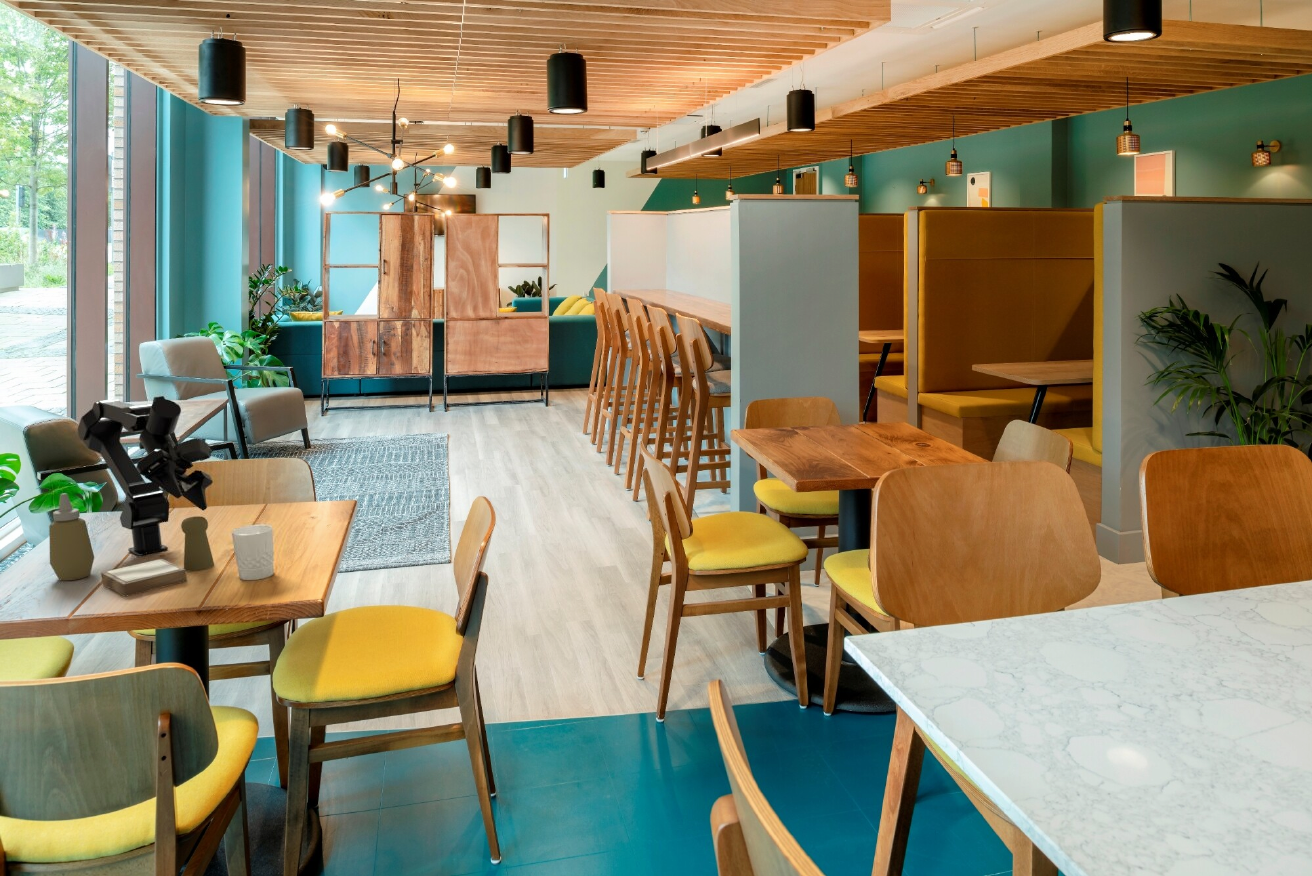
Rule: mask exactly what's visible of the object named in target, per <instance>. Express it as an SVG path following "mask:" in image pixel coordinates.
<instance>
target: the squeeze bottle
mask: <svg viewBox="0 0 1312 876" xmlns="http://www.w3.org/2000/svg"><path fill="white" fill-rule="evenodd" d="M58 503H59V504H58V510H55V511H53V512H52V516H53V522H51V523H50V524H49V525H48V527H49V530H48V532H49V533H48V535H49V538H48V539H49V565H50V566H51V568H52V570H53V571H54V574H55V576H57V579H58V580H59V581H74V580H79V579H84V578H86V577H88V576H90V575H91V573H92V568H93V564H94V559H95V555H94V551H93V546H92V543H91V542H92V541H91V538H90V535H89V531H88V526H87V522H86V520H85V519H83V518H81V515H80V510H79V509H78V508H73V505H72V503H71V501H70V498H69V495H68V493H61V494H60V495H59V502H58Z"/></svg>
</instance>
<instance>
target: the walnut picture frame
mask: <svg viewBox="0 0 1312 876" xmlns="http://www.w3.org/2000/svg"><path fill="white" fill-rule="evenodd" d="M100 575H101V583H102V584H101V585H104V586H105V587H107V588H108V589H111V590H113V591H114V592H115V593H118V594H120V595H122V596H123V595H124V597H128V596H127V595H129V596H132V594H133V595H136V594H140V592H141V593H144V592H149V591H153V590H156V589H160V588H164V587H168V586H172V585H176V584H181V583H184V582H187V581H188V580H187V571H186V569H184V567H181V566H179V565H177V564H175V563H172V562H170V561H168V560H167V559H166V560H165V559H163V558H158V559H154V560H149V561H144V562H140V563H135V564H132V565H127V566H123V567H120V568H119V567H118V568H115V569H111V570H106V571H101V572H100ZM180 582H181V583H180Z"/></svg>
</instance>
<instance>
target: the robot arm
mask: <svg viewBox="0 0 1312 876" xmlns="http://www.w3.org/2000/svg"><path fill="white" fill-rule="evenodd" d="M181 413H182V408H181V406H180V405H179V404H178V403H177V402H175V401H173V400H171V399H166V398H165V396H164V395H160V396H154V397H153V400H152V403H150V404H141V405H135V404H130V403H127V402H123V401H120V399H115V398H113V399H105V400H98V401H96V402H94V403H93V405H92V408H91V409H89V411H87V412H86V413H84V414H83V415H82V416H81V418H80V421H79V423H78V427H77V434H78V435H77V436H78V438H79V440H80V441H82V443H83V444H84V445H85V446H86V447H87V449H89V450H91V451H93V452H96V453H98V454H100V455H101V457H102V459H103V460H104V462H105V464H106V465H107V467H108V469H109V470H110V472H111V474H112V475H113V477H114V478H115V480H116V482H117V484H118V485H119V487H120V488H121V490H122V491H123V493H124V494H125V500H124V503H123V509H122V511H121V514H120V517H119V521H120V523H121V527H122V528H125V529H128V530H131V534H132V537H131V538H132V544H133V547H129V548H128V549H127V550H128V551H129V553H133V554H135V555H137V556H142V555H146V554H152V553H155V552H160V551H166V550H168V549H169V547H168V546H167V545H164V544H163V543H162V535H161V528H160V524H163V523H168V522H169V517H170V501H169V500H168V498H167V496H166V495H164V493H165V492H167V493H168V494H169V495H171V496H173V497H174V498H175V499H180V498H181V497H183V498H184V499H187V500H188V501H189V502H190V503H192V504H193V506H194V505H195V506H196V507H197V508H198V509H199V510H201V511H205V510H207V509H208V503H207V497H206V488H208V487H209V486H211V485H212V484H213V482H214V481H213V480H212V479H213V478H211V476H210V474H208V473H206V472H204V471H202V470H196V469H195V470H194V471H193V472H191V473H189V474H186V472H187V470H190V469H191V468H192V467H194V464H193V463H196V462H198V461H201V462H203V461H205V460H207V459H210V458H211V456H212V453H213V450H212V449H211V447H210V445H209V444H208V443H207V442H206V441H204V440H202V439H201V438H199V437H196V438H195V437H194V438H190V439H187V440H185V441H183V442H182V441H181V442H179V443H177V444H175V442H174V441H173V439H172V437H171V434H173V433H175V432H176V431H175V430H176V428H177V425H178V421H179V419H180V416H181ZM123 429H125V430H126V431H128V432H129V433H130V434H132V433H139V432H140V435H139V437H138V440H139V445H138V446H139V449H140V450H145V452H146V454H147V455H145V456H143V458H141V459H140V460H138V461H137V464H136V465H135V463H134V462H133V460H132V458H131V457H130V455H129V454H128V452H127V451H126V449H125V448H124V446H123V444H122V442H121V437H122V433H123ZM143 477H144V478H145V479H146V480H149V481H150V482H146V481H145V480H144V478H143ZM164 491H165V492H164Z"/></svg>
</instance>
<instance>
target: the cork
mask: <svg viewBox="0 0 1312 876" xmlns="http://www.w3.org/2000/svg"><path fill="white" fill-rule="evenodd" d="M180 527H181V531H182V532H183V534H184V550H183V551H184V553H183V568H184V569H186V572H198V571H204V570H208V569H210V568H211V569H212V568H213V567H214V566H215V561H214V558H213V554H212V550H211V545H210V542H209V538H208V534H207V530H208V528H209V523H208V519H206V517H204V516H199V515H198V516H197V515H196V516H190V517H187V518H185V519H183V520H182V521H181V525H180Z"/></svg>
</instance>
